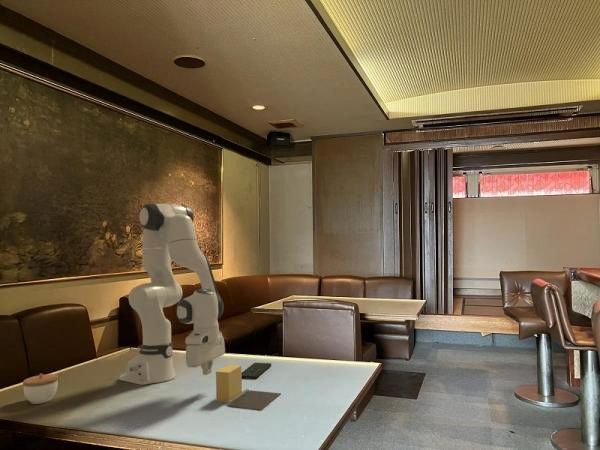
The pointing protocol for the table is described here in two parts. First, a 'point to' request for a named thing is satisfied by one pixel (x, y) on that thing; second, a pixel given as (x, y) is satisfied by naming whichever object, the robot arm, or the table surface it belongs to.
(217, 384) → the mustard block
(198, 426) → the table surface
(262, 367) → the smart home device
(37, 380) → the lidded jar
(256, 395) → the topple stop
